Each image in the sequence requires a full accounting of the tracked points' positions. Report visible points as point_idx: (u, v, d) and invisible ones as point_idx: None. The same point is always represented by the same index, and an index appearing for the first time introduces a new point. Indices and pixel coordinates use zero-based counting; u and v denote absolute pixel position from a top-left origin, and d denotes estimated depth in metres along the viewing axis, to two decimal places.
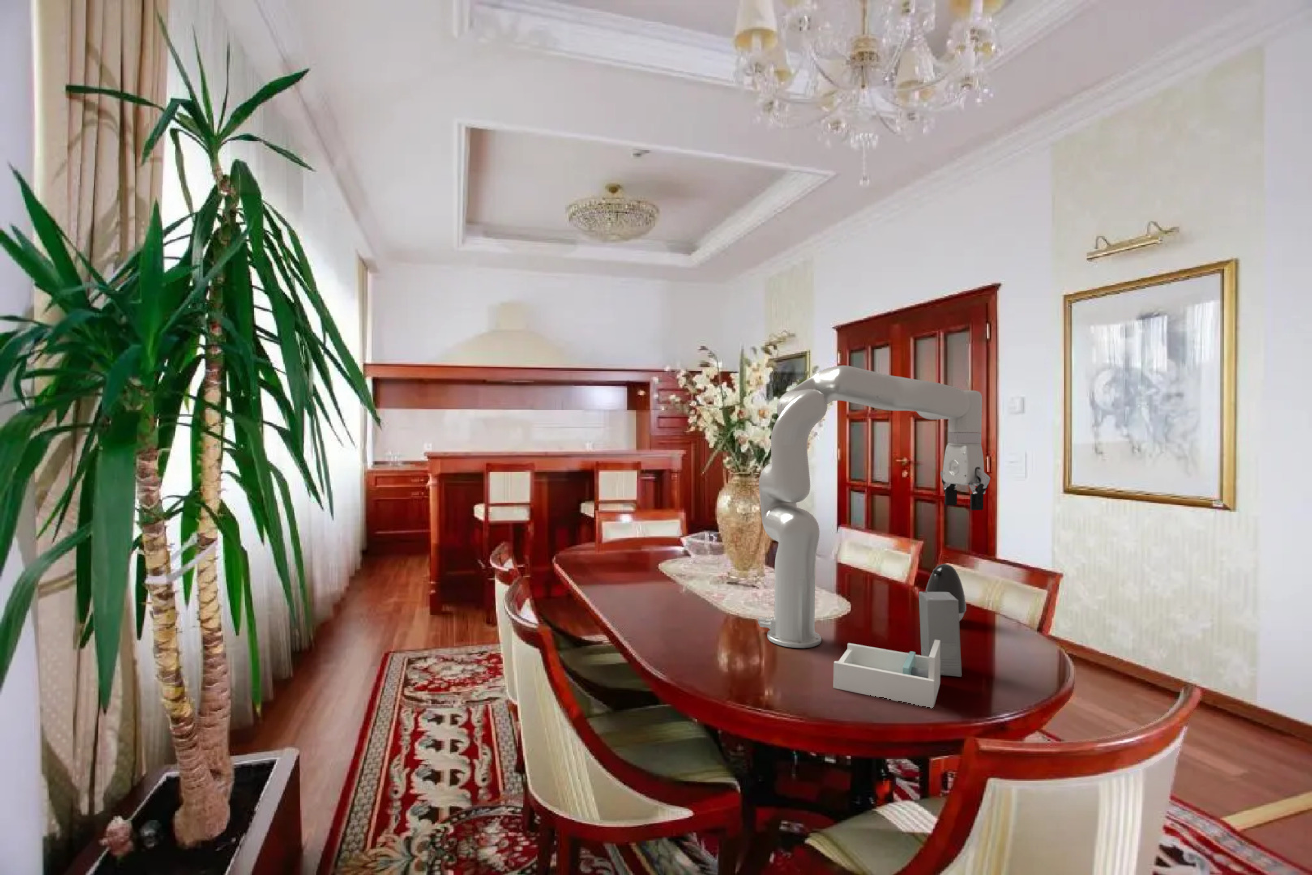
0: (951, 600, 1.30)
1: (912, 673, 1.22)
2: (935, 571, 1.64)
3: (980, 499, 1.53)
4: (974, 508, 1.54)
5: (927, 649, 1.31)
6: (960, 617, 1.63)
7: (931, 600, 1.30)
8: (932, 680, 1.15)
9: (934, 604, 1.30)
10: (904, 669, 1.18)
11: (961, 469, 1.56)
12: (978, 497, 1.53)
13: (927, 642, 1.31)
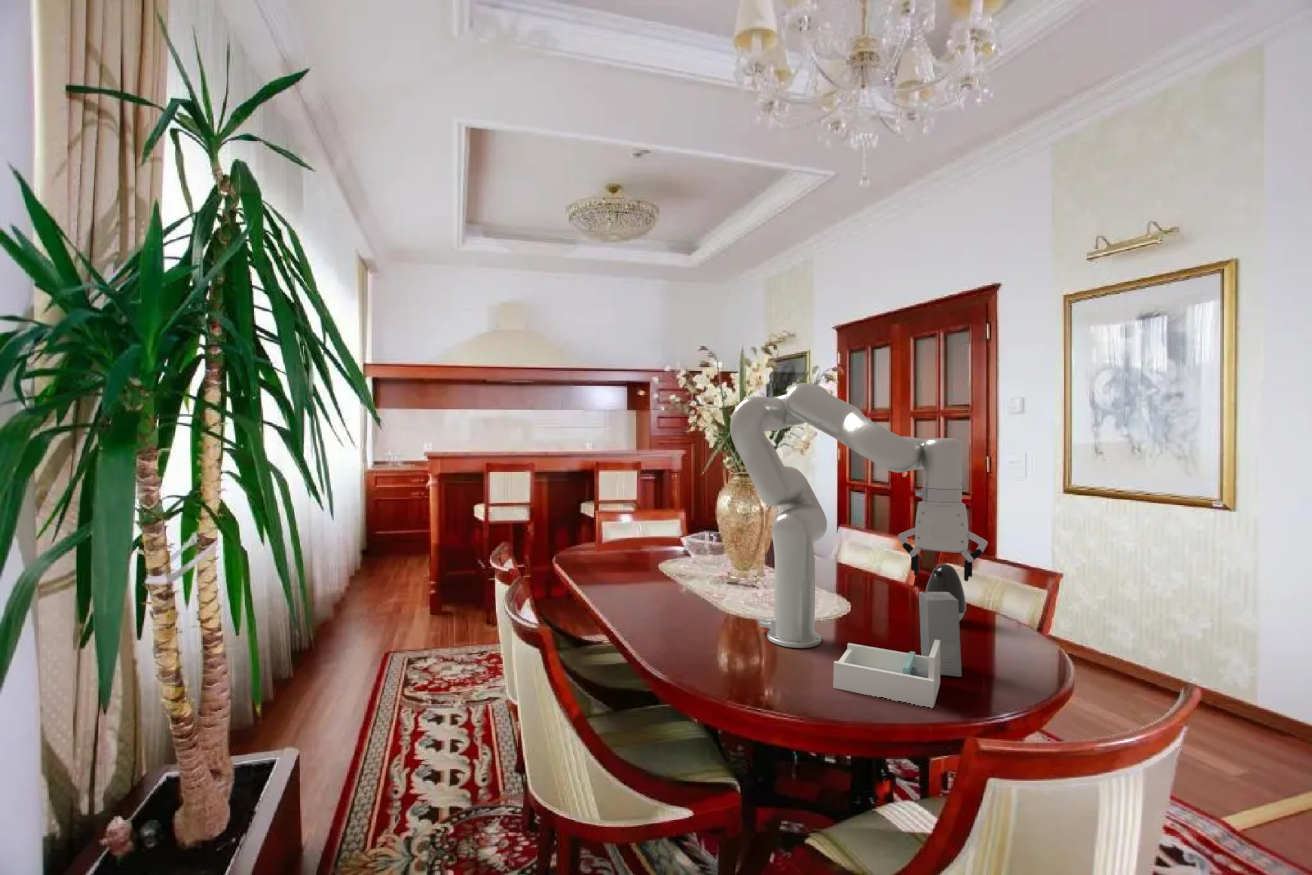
0: (951, 600, 1.30)
1: (912, 673, 1.22)
2: (935, 571, 1.64)
3: None
4: (968, 578, 1.30)
5: (927, 649, 1.31)
6: (960, 617, 1.63)
7: (931, 600, 1.30)
8: (932, 680, 1.15)
9: (934, 604, 1.30)
10: (904, 669, 1.18)
11: (954, 534, 1.30)
12: None
13: (927, 642, 1.31)
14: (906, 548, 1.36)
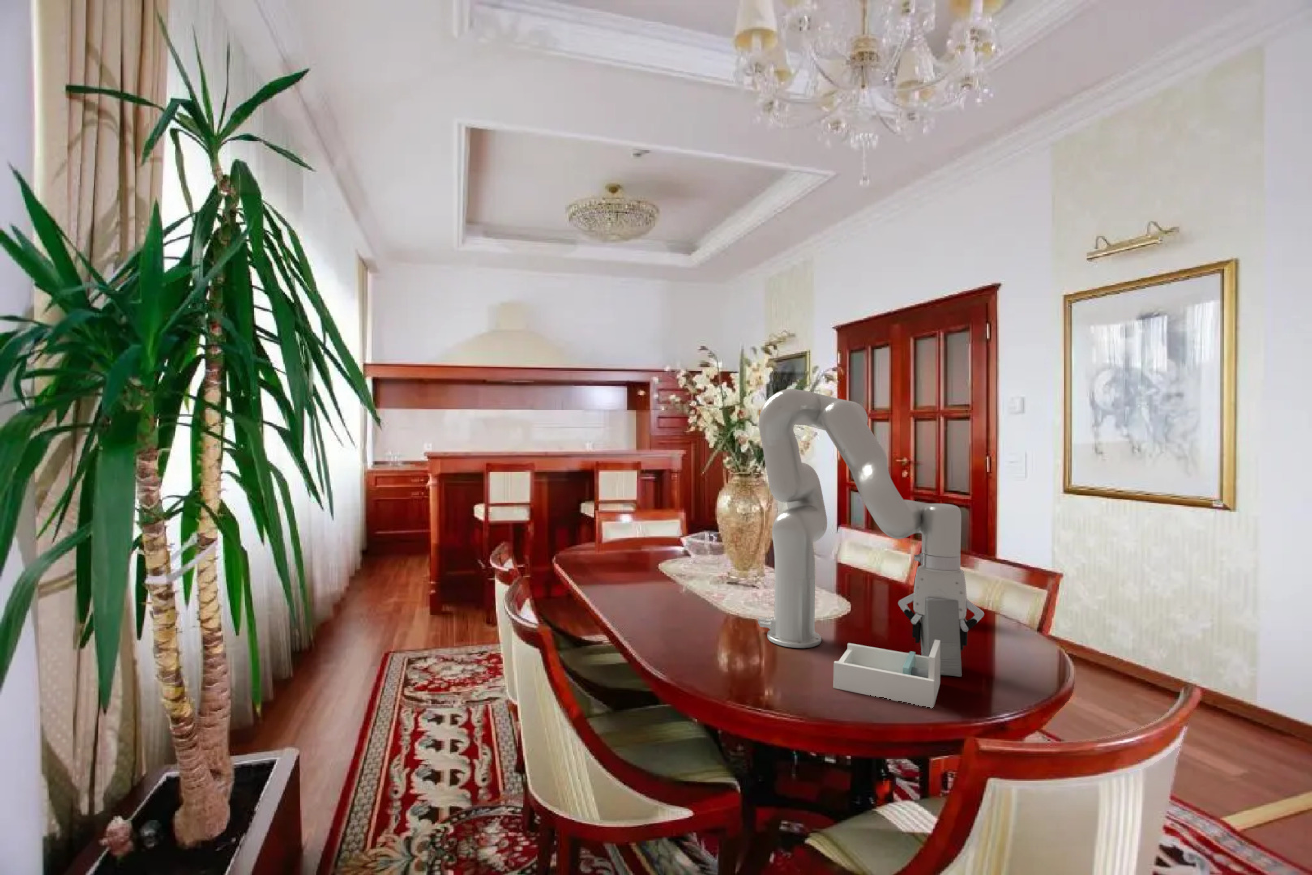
0: (951, 600, 1.30)
1: (912, 673, 1.22)
2: None
3: None
4: (962, 647, 1.31)
5: (927, 649, 1.31)
6: None
7: (931, 600, 1.30)
8: (932, 680, 1.15)
9: (934, 604, 1.30)
10: (904, 669, 1.18)
11: None
12: None
13: (927, 642, 1.31)
14: (907, 615, 1.36)
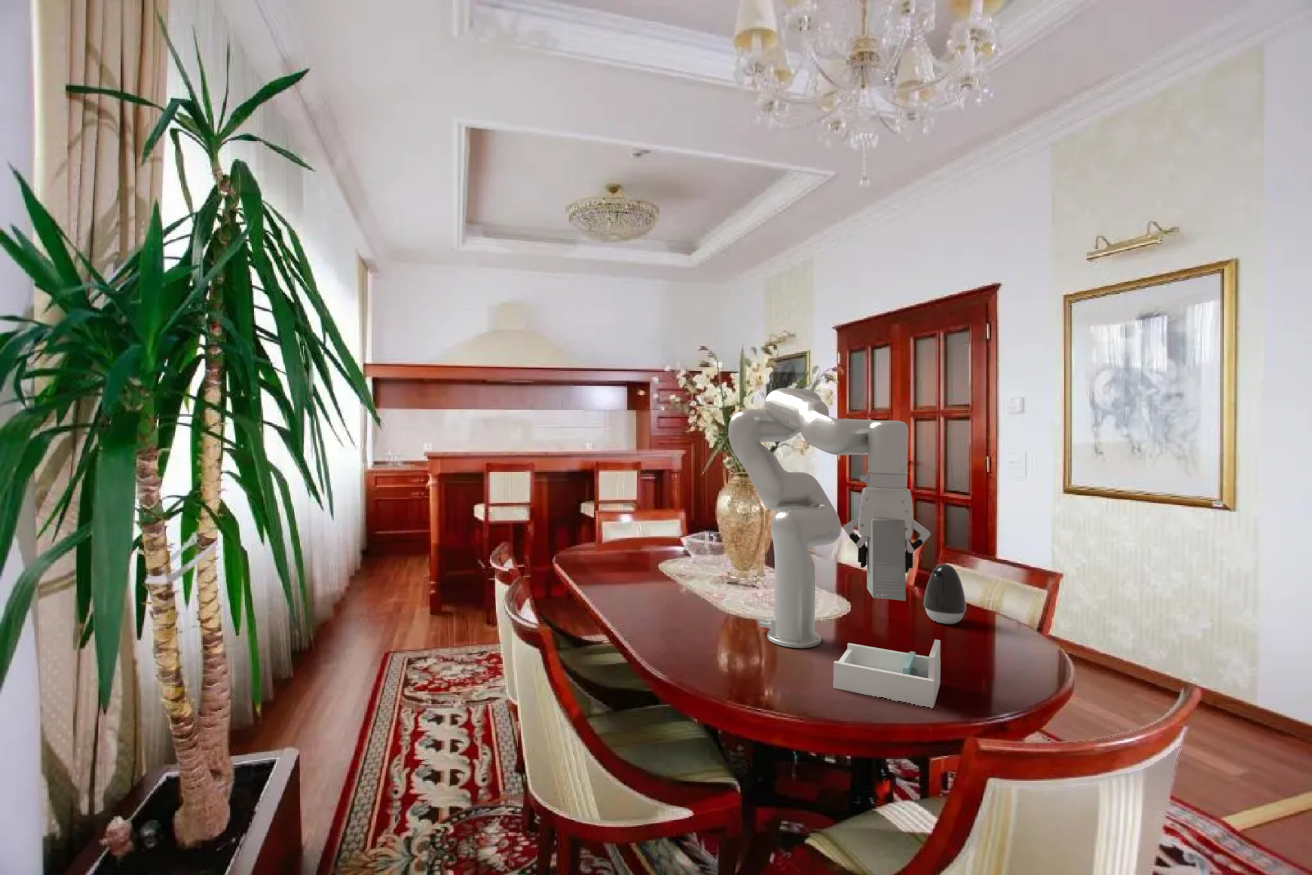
0: (897, 520, 1.23)
1: (912, 673, 1.22)
2: (935, 571, 1.64)
3: (912, 558, 1.25)
4: (908, 570, 1.24)
5: (871, 572, 1.25)
6: (960, 617, 1.63)
7: (877, 520, 1.24)
8: (932, 680, 1.15)
9: (880, 524, 1.23)
10: (904, 669, 1.18)
11: None
12: (912, 556, 1.25)
13: (871, 565, 1.25)
14: (853, 539, 1.29)
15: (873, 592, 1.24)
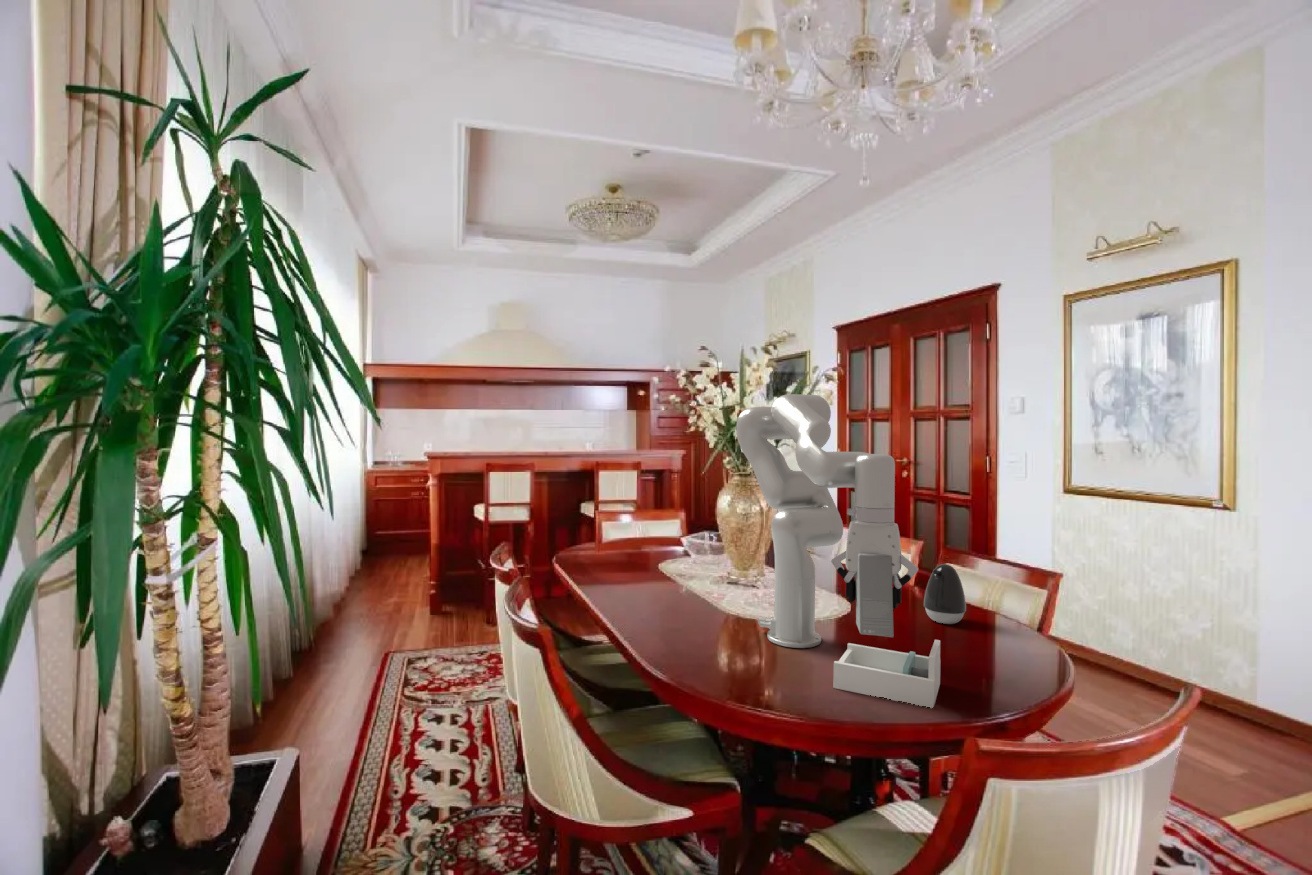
0: (884, 555, 1.22)
1: (912, 673, 1.22)
2: (935, 571, 1.64)
3: (900, 593, 1.23)
4: (896, 606, 1.23)
5: (858, 608, 1.23)
6: (960, 617, 1.63)
7: (863, 555, 1.22)
8: (932, 680, 1.15)
9: (866, 559, 1.22)
10: (904, 669, 1.18)
11: None
12: (900, 592, 1.23)
13: (858, 600, 1.23)
14: (841, 573, 1.28)
15: (860, 628, 1.22)
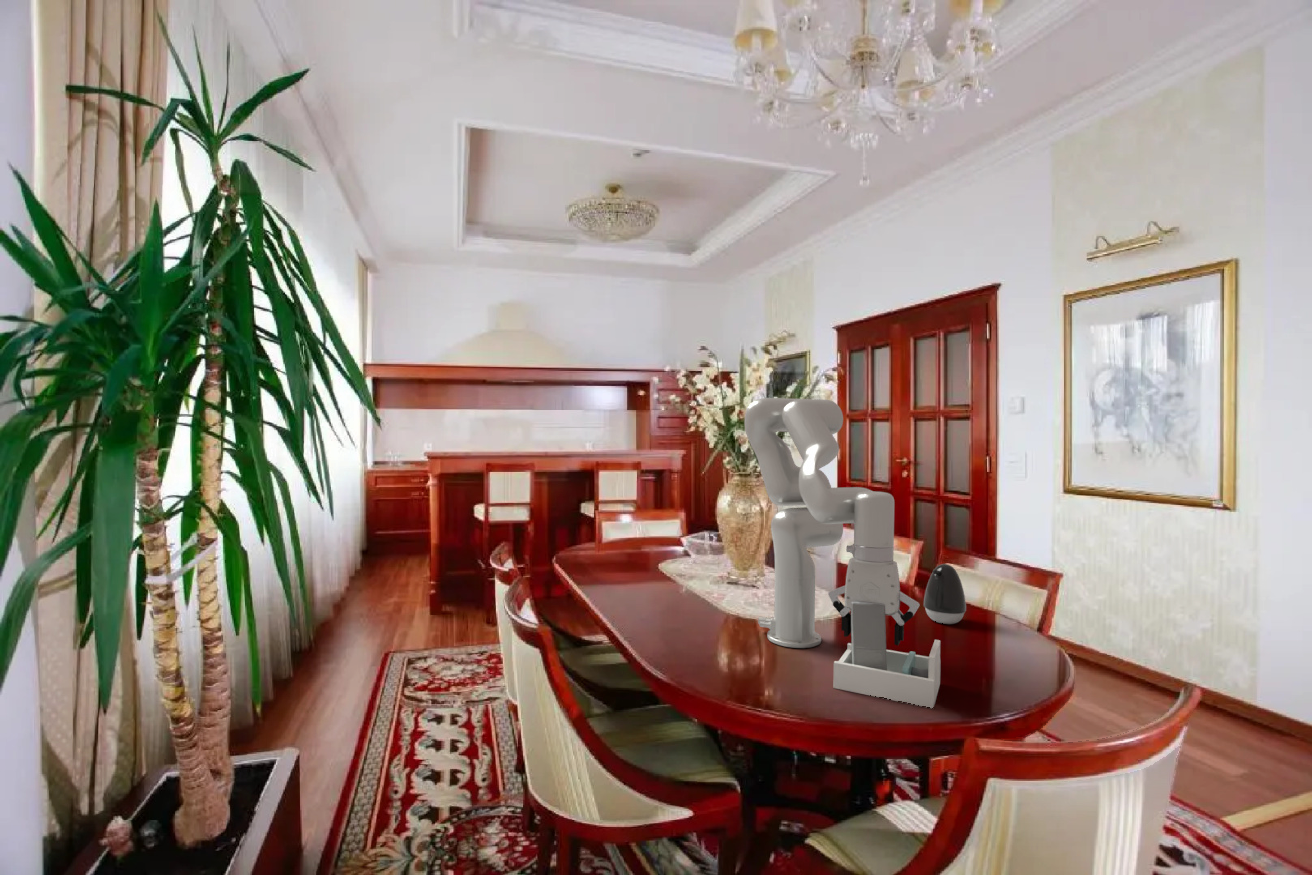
0: (877, 604, 1.22)
1: (912, 673, 1.22)
2: (935, 571, 1.64)
3: (903, 630, 1.23)
4: (898, 642, 1.23)
5: None
6: (960, 617, 1.63)
7: (856, 604, 1.23)
8: (932, 680, 1.15)
9: (859, 608, 1.23)
10: (904, 669, 1.18)
11: (884, 595, 1.22)
12: (903, 628, 1.23)
13: (852, 648, 1.24)
14: (836, 607, 1.29)
15: None
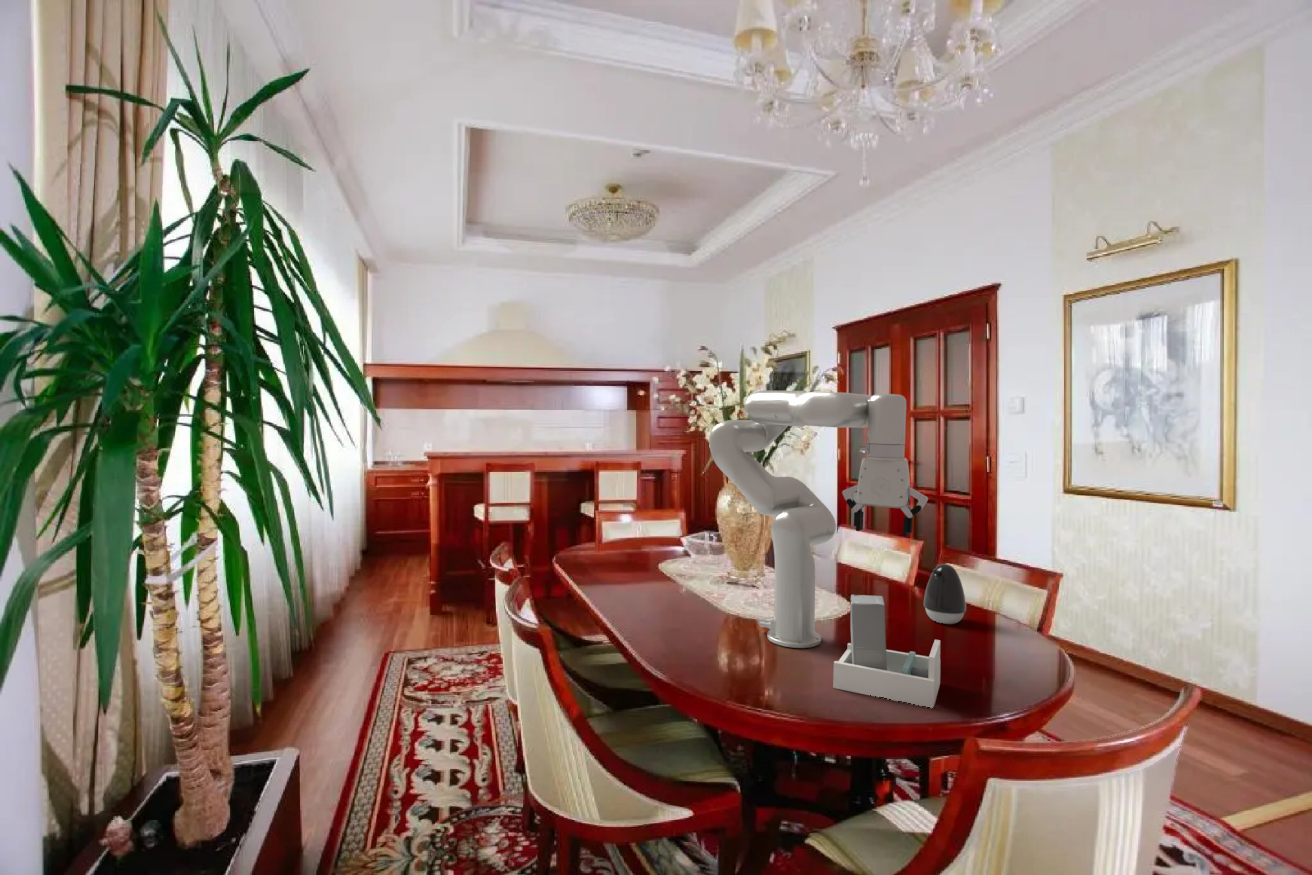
0: (877, 604, 1.22)
1: (912, 673, 1.22)
2: (935, 571, 1.64)
3: (912, 523, 1.31)
4: (907, 534, 1.30)
5: (852, 655, 1.24)
6: (960, 617, 1.63)
7: (856, 604, 1.23)
8: (932, 680, 1.15)
9: (859, 608, 1.23)
10: (904, 669, 1.18)
11: (894, 489, 1.30)
12: (911, 521, 1.30)
13: (852, 648, 1.24)
14: (849, 504, 1.37)
15: None
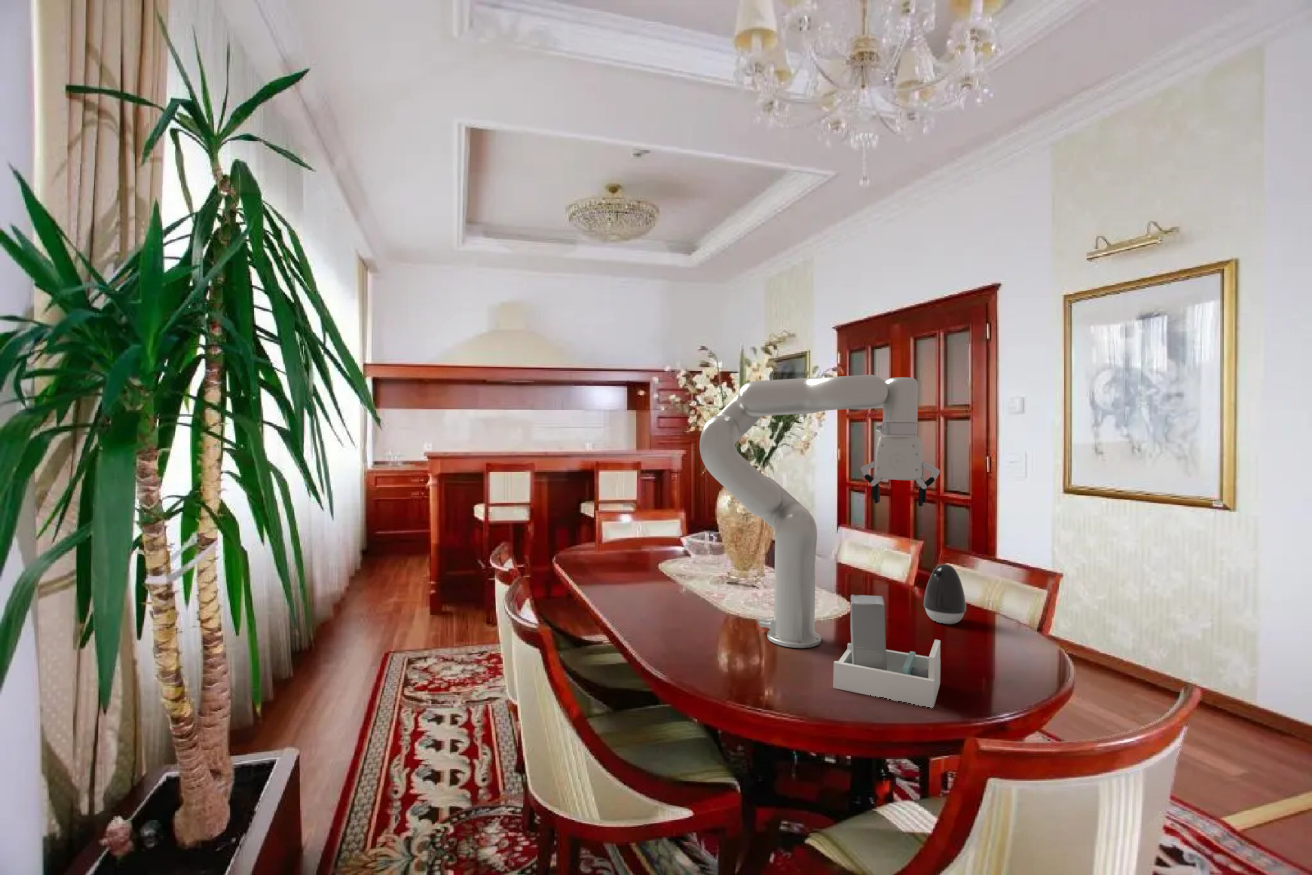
0: (877, 604, 1.22)
1: (912, 673, 1.22)
2: (935, 571, 1.64)
3: None
4: (922, 504, 1.44)
5: (852, 655, 1.24)
6: (960, 617, 1.63)
7: (856, 604, 1.23)
8: (932, 680, 1.15)
9: (859, 608, 1.23)
10: (904, 669, 1.18)
11: (910, 463, 1.43)
12: (925, 492, 1.44)
13: (852, 648, 1.24)
14: (868, 479, 1.49)
15: None
